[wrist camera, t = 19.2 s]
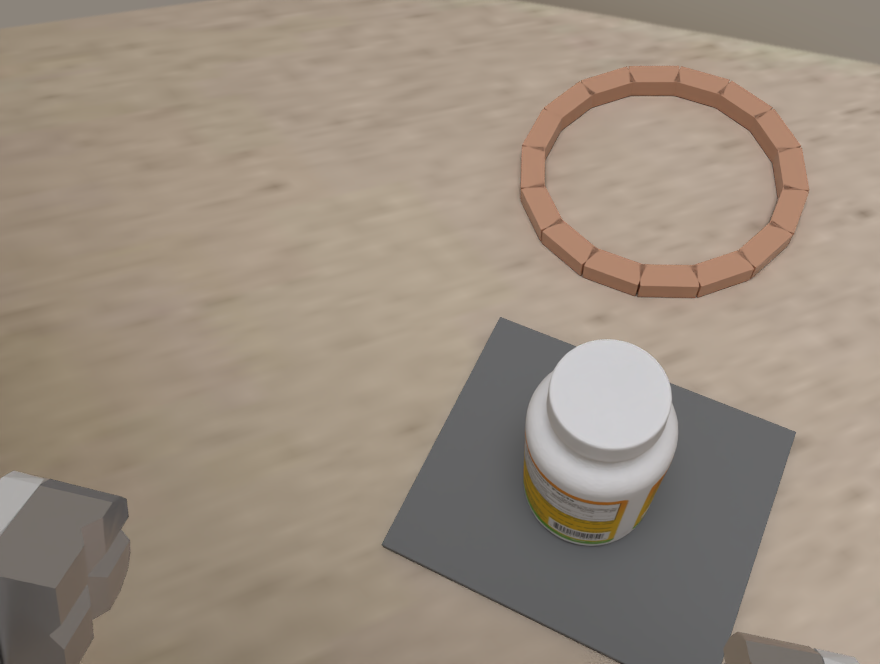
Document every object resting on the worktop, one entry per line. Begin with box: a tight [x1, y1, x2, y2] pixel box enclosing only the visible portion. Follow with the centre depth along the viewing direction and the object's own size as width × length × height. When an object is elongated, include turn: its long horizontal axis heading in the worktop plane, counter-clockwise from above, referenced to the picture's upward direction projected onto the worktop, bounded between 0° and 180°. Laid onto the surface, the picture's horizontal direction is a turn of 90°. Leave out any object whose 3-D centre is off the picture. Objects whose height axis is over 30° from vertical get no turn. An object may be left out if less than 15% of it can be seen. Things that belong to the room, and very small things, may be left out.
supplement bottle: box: [523, 339, 678, 546], centre depth 31 cm, size 5×5×10 cm
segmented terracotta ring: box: [521, 66, 809, 298], centre depth 43 cm, size 14×14×1 cm
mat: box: [382, 317, 796, 664], centre depth 36 cm, size 14×12×1 cm
